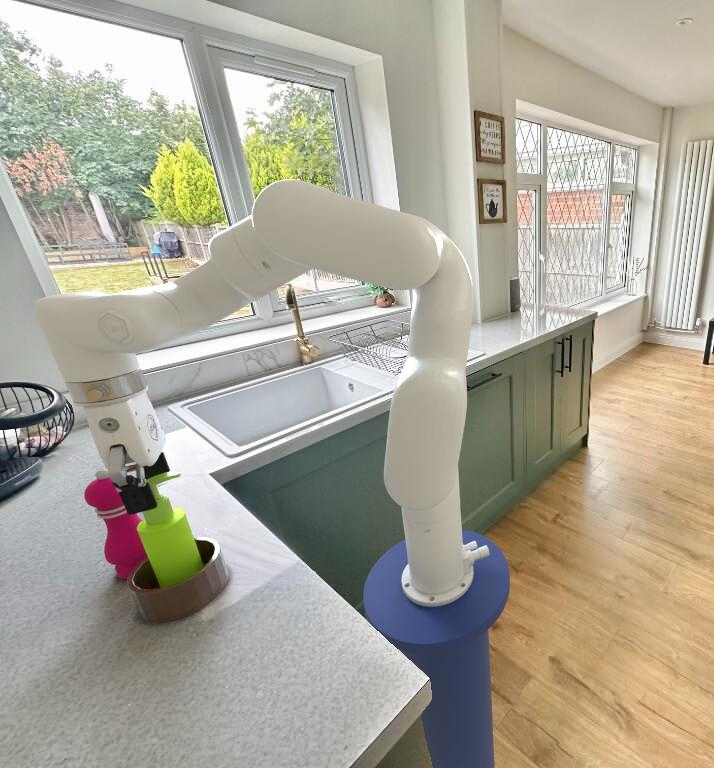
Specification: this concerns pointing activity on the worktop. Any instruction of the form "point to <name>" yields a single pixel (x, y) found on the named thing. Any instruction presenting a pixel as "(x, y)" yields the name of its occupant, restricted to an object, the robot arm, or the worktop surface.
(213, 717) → the worktop surface
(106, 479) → the pepper mill
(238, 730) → the worktop surface
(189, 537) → the soap dispenser
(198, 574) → the bowl
